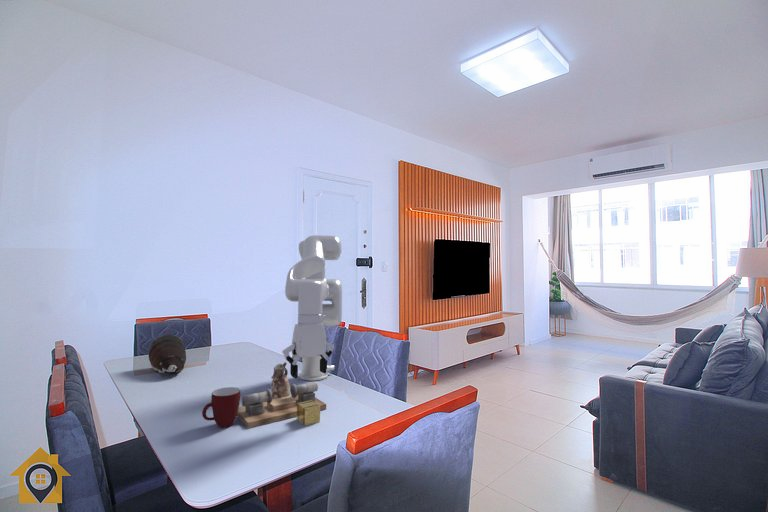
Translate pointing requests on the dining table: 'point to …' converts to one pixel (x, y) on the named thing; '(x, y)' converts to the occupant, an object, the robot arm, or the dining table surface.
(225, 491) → the dining table surface
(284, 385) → the figurine
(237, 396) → the mug
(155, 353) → the clay pot
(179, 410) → the dining table surface
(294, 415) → the shaft jig
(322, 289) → the robot arm
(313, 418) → the block
